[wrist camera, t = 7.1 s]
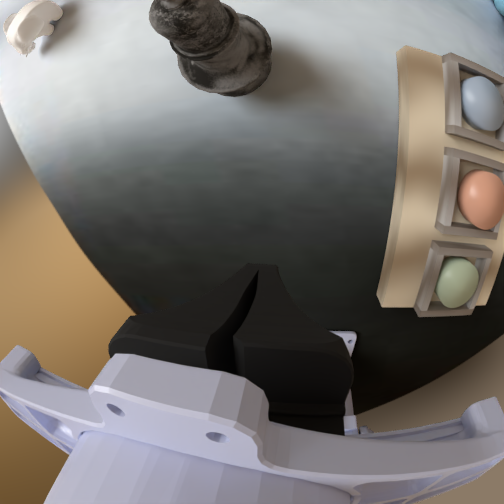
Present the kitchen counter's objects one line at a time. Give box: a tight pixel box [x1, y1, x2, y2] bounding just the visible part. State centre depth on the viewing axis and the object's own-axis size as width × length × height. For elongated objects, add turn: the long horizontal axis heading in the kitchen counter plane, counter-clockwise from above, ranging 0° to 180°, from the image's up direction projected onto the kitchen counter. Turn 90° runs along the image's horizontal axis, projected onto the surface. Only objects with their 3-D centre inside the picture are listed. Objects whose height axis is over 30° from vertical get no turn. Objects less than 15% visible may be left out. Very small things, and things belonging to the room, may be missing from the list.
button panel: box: [377, 45, 504, 317], centre depth 15 cm, size 20×12×3 cm, turn 0°
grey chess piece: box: [149, 0, 272, 96], centre depth 11 cm, size 6×6×12 cm
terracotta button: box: [457, 169, 504, 230], centre depth 14 cm, size 4×4×2 cm
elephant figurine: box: [3, 0, 63, 57], centre depth 12 cm, size 7×8×6 cm
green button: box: [434, 256, 479, 308], centre depth 17 cm, size 4×4×2 cm
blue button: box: [460, 76, 504, 131], centre depth 12 cm, size 4×4×2 cm
